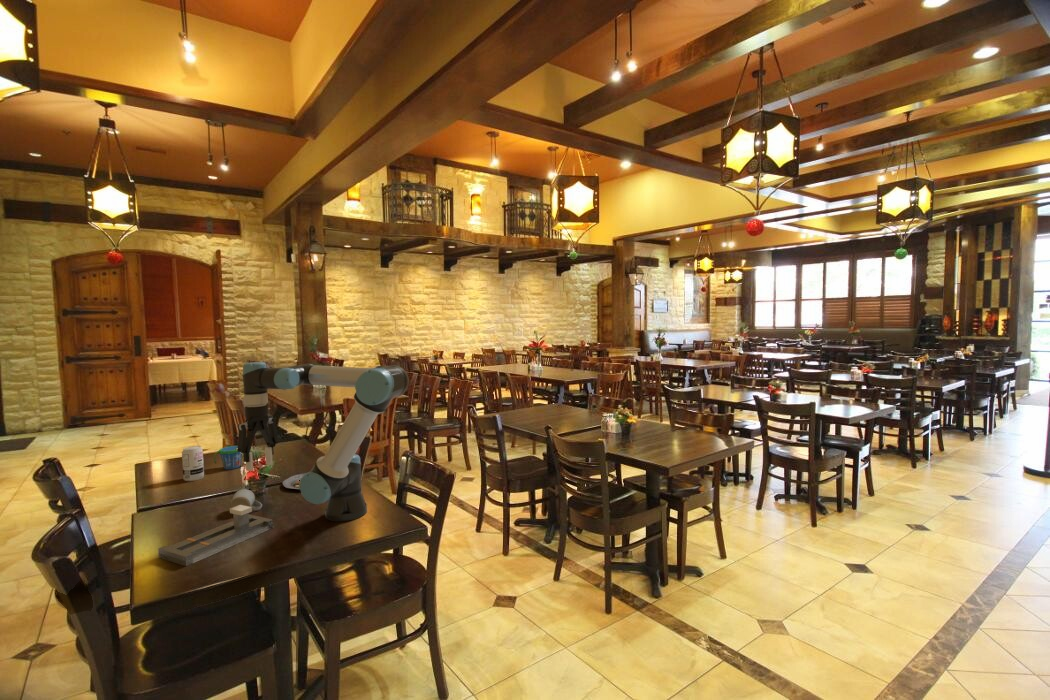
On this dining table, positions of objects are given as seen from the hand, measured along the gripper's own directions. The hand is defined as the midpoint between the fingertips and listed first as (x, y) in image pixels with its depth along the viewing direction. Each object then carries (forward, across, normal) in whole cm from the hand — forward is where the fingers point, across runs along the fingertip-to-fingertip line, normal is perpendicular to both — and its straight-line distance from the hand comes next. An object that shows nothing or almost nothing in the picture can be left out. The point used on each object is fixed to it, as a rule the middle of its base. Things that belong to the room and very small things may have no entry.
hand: (259, 467), depth 180 cm
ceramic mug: (+21, -6, -18) cm, 28 cm away
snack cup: (+21, -42, -78) cm, 91 cm away
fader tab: (+19, +8, 0) cm, 21 cm away
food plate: (+22, -41, -20) cm, 50 cm away
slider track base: (+21, +16, 0) cm, 26 cm away
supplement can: (+21, -23, -78) cm, 84 cm away
